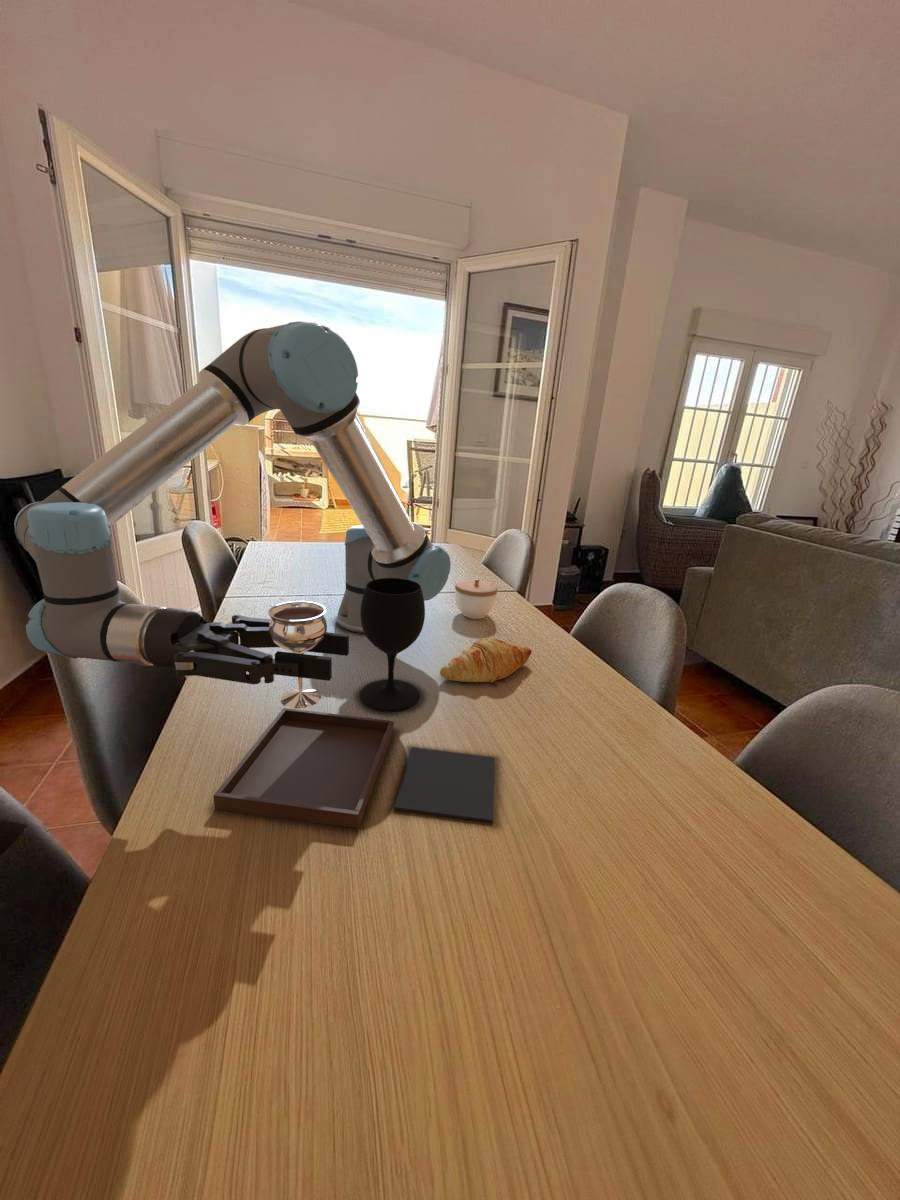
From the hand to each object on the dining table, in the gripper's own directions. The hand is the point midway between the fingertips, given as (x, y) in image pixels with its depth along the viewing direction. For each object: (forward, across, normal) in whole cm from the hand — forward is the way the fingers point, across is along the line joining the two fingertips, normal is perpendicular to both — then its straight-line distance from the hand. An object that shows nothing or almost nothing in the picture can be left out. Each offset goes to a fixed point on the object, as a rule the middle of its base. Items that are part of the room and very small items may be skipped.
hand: (339, 656), depth 59 cm
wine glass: (+2, -20, -17) cm, 26 cm away
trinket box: (+14, -64, -17) cm, 68 cm away
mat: (+15, 0, -17) cm, 22 cm away
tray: (-3, 0, -17) cm, 17 cm away
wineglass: (-5, 0, -7) cm, 8 cm away
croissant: (+18, -33, -17) cm, 42 cm away
